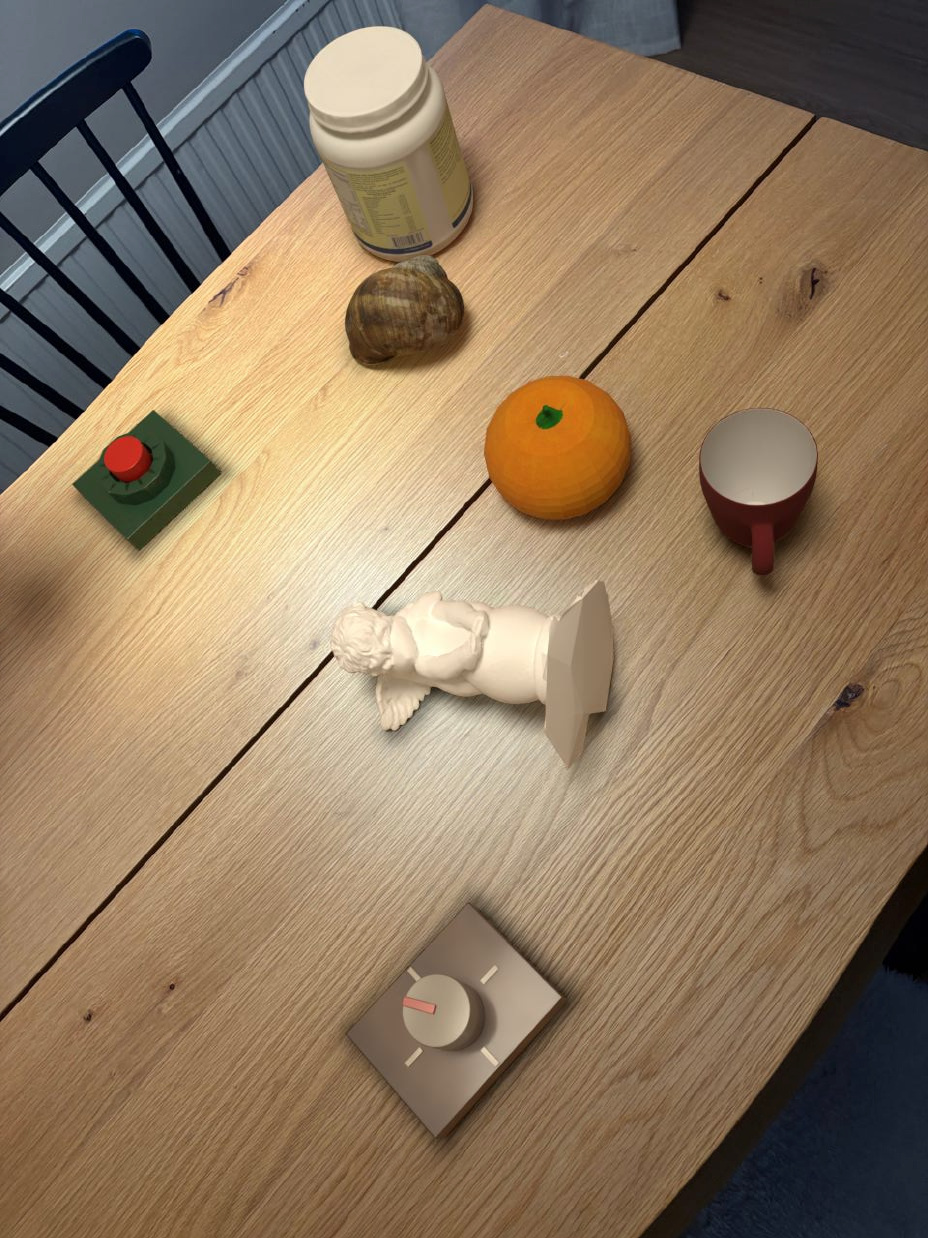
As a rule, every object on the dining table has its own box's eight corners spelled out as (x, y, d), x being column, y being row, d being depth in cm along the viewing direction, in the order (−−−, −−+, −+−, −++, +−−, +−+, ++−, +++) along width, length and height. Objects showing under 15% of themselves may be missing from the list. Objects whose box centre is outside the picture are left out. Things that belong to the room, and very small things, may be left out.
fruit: (658, 499, 88) (650, 430, 79) (523, 557, 88) (500, 495, 80) (601, 391, 93) (587, 315, 84) (474, 447, 94) (447, 378, 85)
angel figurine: (382, 696, 91) (368, 554, 88) (616, 719, 84) (613, 564, 80) (299, 766, 80) (279, 605, 76) (563, 800, 72) (556, 623, 68)
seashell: (482, 298, 100) (463, 236, 93) (456, 384, 97) (434, 326, 90) (369, 290, 103) (342, 230, 96) (340, 373, 100) (310, 316, 93)
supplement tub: (425, 150, 109) (376, -4, 94) (502, 210, 104) (463, 56, 89) (330, 224, 108) (265, 80, 93) (403, 289, 103) (346, 147, 88)
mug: (828, 588, 82) (840, 524, 73) (719, 608, 83) (718, 548, 74) (795, 469, 86) (803, 395, 77) (692, 490, 88) (688, 420, 79)
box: (139, 551, 97) (116, 529, 94) (84, 496, 101) (60, 473, 97) (221, 473, 99) (202, 449, 95) (164, 422, 102) (143, 397, 99)
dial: (491, 990, 73) (477, 982, 69) (475, 1059, 72) (458, 1056, 67) (430, 973, 74) (411, 965, 70) (412, 1041, 73) (392, 1036, 69)
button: (129, 489, 96) (119, 479, 94) (106, 467, 97) (96, 457, 96) (159, 461, 96) (150, 450, 95) (136, 439, 98) (126, 429, 96)
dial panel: (444, 1138, 72) (434, 1139, 70) (356, 1036, 76) (344, 1033, 74) (568, 1000, 74) (562, 997, 72) (475, 907, 78) (467, 901, 76)
